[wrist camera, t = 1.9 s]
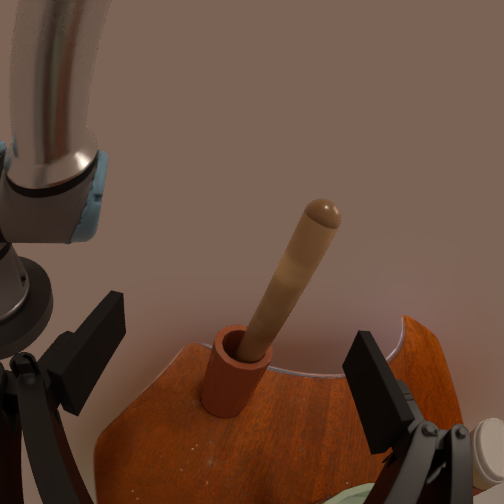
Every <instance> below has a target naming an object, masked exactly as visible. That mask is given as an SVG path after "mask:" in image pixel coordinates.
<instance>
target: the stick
mask: <svg viewBox="0 0 504 504" xmlns="http://www.w3.org/2000/svg"><path fill="white" fill-rule="evenodd" d="M340 223H341V214H340V211H339V209H338V207H337V206H336V205H335V204H334V203H333V202H331V201H329V200H326V199H317V200H314V201H312V202H311V203H309V204H308V205H307V207H306V209H305V210H304V212H303V214H302V217H301V219H300V221H299V223H298V225H297V227H296V229H295V231H294V233H293V236H292V238H291V240H290V242H289V244H288V246H287V248H286V250H285V253H284V255H283V257H282V259H281V261H280V263H279V265H278V267H277V269H276V271H275V273H274V275H273V277H272V279H271V281H270V283H269V286H268V288H267V290H266V292H265V294H264V296H263V298H262V300H261V302H260V304H259V306H258V308H257V310H256V312H255V314H254V316H253V318H252V320H251V322H250V324H249V326H248V328H247V330H246V332H245V334H244V335H243V337H242V339H241V341H240V343H239V345H238V347H237V349H236V351H235V353H234V355H233V357H232V359H234V360H236V361H238V362H242V363H249V364H251V363H255V362H259V361H260V360H261V359H262V357H263V356H264V354H265V353H266V351H267V350H268V348H269V346H270V345H271V343H272V342H273V340H274V339H275V337H276V335H277V334H278V332H279V331H280V329H281V327H282V326H283V324H284V322H285V321H286V319H287V318H288V316H289V314H290V313H291V311H292V309H293V308H294V306H295V305H296V303H297V301H298V299H299V298H300V296H301V294H302V293H303V291H304V289H305V288H306V286H307V284H308V282H309V281H310V279H311V277H312V275H313V274H314V272H315V270H316V268H317V267H318V265H319V263H320V261H321V260H322V258H323V256H324V254H325V252H326V250H327V249H328V247H329V245H330V243H331V241H332V239H333V238H334V236H335V234H336V232H337V230H338V228H339V226H340Z"/></svg>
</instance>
